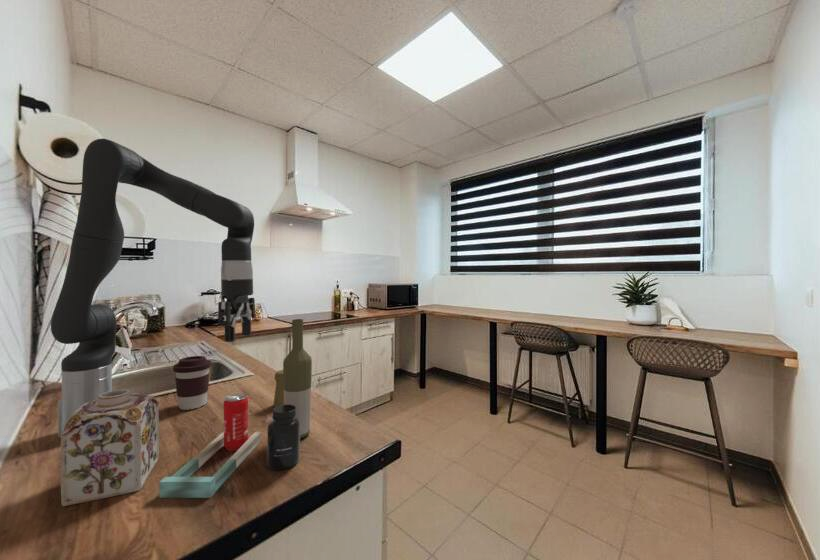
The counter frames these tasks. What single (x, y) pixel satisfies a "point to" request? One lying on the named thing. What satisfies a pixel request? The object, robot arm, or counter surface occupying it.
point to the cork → (279, 389)
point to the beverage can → (235, 421)
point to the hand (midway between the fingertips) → (238, 338)
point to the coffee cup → (192, 381)
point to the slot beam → (205, 486)
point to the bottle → (298, 378)
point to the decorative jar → (109, 446)
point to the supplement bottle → (283, 438)
